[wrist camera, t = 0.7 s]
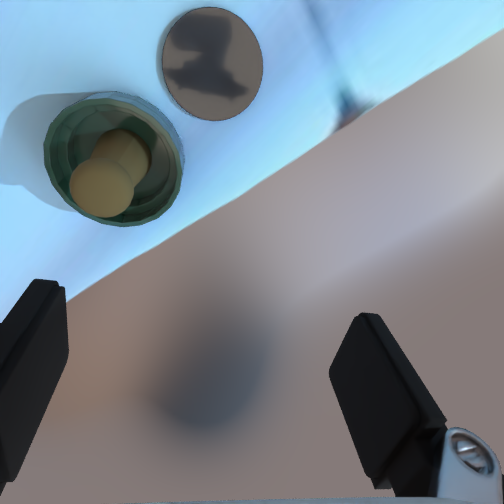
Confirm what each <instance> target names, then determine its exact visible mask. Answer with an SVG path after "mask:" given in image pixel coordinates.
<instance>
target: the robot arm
mask: <svg viewBox="0 0 504 504" xmlns="http://www.w3.org/2000/svg"><path fill="white" fill-rule="evenodd" d="M68 354H69V347H68V330H67V313H66V296H65V288H64V287H62V286H59V284H58V282H57V281H53V280H43V279H34V280H33V281H32V282H31V283H30V285H29V286H28V288H27V289H26V290H25V292H24V293H23V294H22V296H21V297H20V298H19V300H18V301H17V303H16V304H15V305H14V307H13V308H12V309H11V311H10V312H9V313H8V315H7V316H6V318H5V319H4V320H3V322H2V323H0V496H1V493H2V491H3V489H4V487H5V485H6V482H13V481H14V480H15V478H16V477H17V475H18V473H19V470H20V468H21V466H22V464H23V461H24V459H25V456H26V454H27V452H28V450H29V447H30V445H31V443H32V440H33V438H34V436H35V434H36V432H37V429H38V427H39V425H40V422H41V420H42V418H43V415H44V413H45V411H46V409H47V406H48V404H49V401H50V399H51V397H52V395H53V393H54V390H55V388H56V386H57V383H58V381H59V379H60V377H61V374H62V372H63V370H64V367H65V365H66V363H67V359H68ZM329 377H330V381H331V383H332V386H333V389H334V391H335V394H336V397H337V399H338V402H339V405H340V407H341V410H342V413H343V415H344V418H345V421H346V424H347V426H348V429H349V432H350V434H351V437H352V440H353V442H354V445H355V448H356V450H357V453H358V456H359V459H360V461H361V464H362V467H363V469H364V472H365V474H366V475H367V476H368V477H369V478H371V480H372V483H373V486H374V489H391V488H393V490H394V493H395V495H396V496H395V497H366V498H365V497H364V498H314V499H313V498H311V499H269V500H230V501H192V502H160V503H129V504H504V475H503V474H502V472H501V466H500V463H499V460H498V459H497V456H496V454H495V453H494V452H493V451H492V449H491V448H490V447H489V446H488V445H487V444H486V443H485V442H484V441H483V440H482V439H481V438H479V437H478V436H477V435H475V434H474V433H472V432H470V431H468V430H466V429H463V428H459V427H454V428H450V429H449V430H448V429H447V427H446V426H445V422H446V421H447V419H446V418H445V416H444V415H443V413H442V411H441V410H440V408H439V407H438V405H437V404H436V402H435V401H434V399H433V397H432V396H431V394H430V393H429V391H428V390H427V388H426V387H425V385H424V383H423V382H422V380H421V379H420V377H419V376H418V374H417V373H416V371H415V369H414V368H413V366H412V365H411V363H410V362H409V360H408V359H407V357H406V356H405V354H404V352H403V351H402V349H401V348H400V346H399V345H398V343H397V341H396V340H395V338H394V337H393V335H392V334H391V332H390V331H389V329H388V327H387V326H386V325H385V323H384V321H383V320H382V318H381V317H380V316H379V315H378V314H373V313H360V314H359V315H358V316H356V317H354V319H353V321H352V323H351V325H350V327H349V329H348V331H347V333H346V335H345V337H344V340H343V341H342V344H341V346H340V348H339V350H338V352H337V354H336V356H335V358H334V360H333V362H332V364H331V366H330V369H329ZM126 504H128V503H126Z"/></svg>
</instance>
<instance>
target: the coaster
mask: <svg viewBox="0 0 504 504" xmlns="http://www.w3.org/2000/svg"><path fill="white" fill-rule="evenodd" d="M162 67H163V74H164V78H165V81H166V84H167V87H168V89H169V91H170V93H171V94H172V96H173V98H174V99H175V100H176V101H177V103H178V104H179V105H180V106H181V107H182V108H183V109H185V110H186V111H187V112H189V113H190V114H192V115H194V116H196V117H198V118H201V119H204V120H210V121H221V120H226V119H230V118H232V117H234V116H236V115H238V114H240V113H241V112H242V111H244V110H245V109H246V108H247V107H248V106H249V105H250V104H251V102H252V101H253V100H254V98H255V96H256V94H257V92H258V90H259V88H260V84H261V81H262V75H263V59H262V53H261V49H260V46H259V43H258V41H257V39H256V37H255V35H254V33H253V32H252V30H251V29H250V28H249V26H248V25H247V24H246V23H245V22H244V21H243V20H242V19H241V18H239V17H238V16H237V15H235V14H233V13H232V12H230V11H227V10H225V9H221V8H217V7H204V8H199V9H195V10H193V11H191V12H188V13H187V14H185V15H184V16H182V17H181V18H180V19H179V20H178V21H177V22H176V23H175V24H174V26H173V27H172V29H171V30H170V32H169V34H168V36H167V38H166V41H165V44H164V48H163V54H162Z"/></svg>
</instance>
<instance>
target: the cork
mask: <svg viewBox="0 0 504 504" xmlns="http://www.w3.org/2000/svg"><path fill="white" fill-rule="evenodd" d="M151 164H152V156H151V152H150V149H149V147H148V145H147V144H146V142H145V141H144V140H143V139H142V138H141V137H140V136H139V135H137V134H136V133H134V132H131V131H129V130H126V129H119V128H118V129H112V130H109V131H107V132H105V133H104V134H102V135H101V136H100V138H99V139H98V140H97V142H96V145H95V147H94V150H93V152H92V154H91V157H90V159H89V160H86V161H84V162H83V163H81V164H79V165H78V166H77V167H76V169H75V170H74V171H73V173H72V175H71V179H70V183H69V186H70V193H71V195H72V198H73V200H74V201H75V203H76V204H77V205H78V206H79V207H80V208H81V209H82V210H84V211H85V212H87V213H88V214H91V215H94V216H97V217H106V218H107V217H113V216H116V215H118V214H120V213H122V212H123V211H125V209H126V208H127V207H128V206H129V205H130V203H131V200H132V198H133V195H134V187H135V186H136V185H137V184H138V183H139V182H140V181H141V180H142V179H143V178H144V176H145V175H146V174H147V173H148V172H149V170H150V167H151Z"/></svg>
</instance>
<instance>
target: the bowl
mask: <svg viewBox="0 0 504 504" xmlns="http://www.w3.org/2000/svg"><path fill="white" fill-rule="evenodd" d="M118 128H119V129H126V130H129V131H131V132H134V133H136V134H137V135H139V136H140V137H141V138H142V139H143V140H144V141H145V142H146V144H147V145H148V147H149V149H150V152H151V156H152V164H151V167H150V170H149V172H148V173H147V174H146V175H145V176H144V178H143V179H142V180H141V181H140V182H139V183H138V184H137V185H136V186H135V187H134V195H133V198H132V200H131V203H130V205H129V206H128V207H127V208H126V209H125V211H123V212H122V213H120V214H118V215H116V216H113V217H107V218H106V217H97V216H94V215H91V214H88V213H87V212H85V211H84V210H82V209H81V208H80V207H79V206H78V205H77V204H76V203H75V201H74V200H73V198H72V195H71V193H70V186H69V183H70V179H71V175H72V173H73V171H74V170H75V169H76V167H77V166H78V165H79V164H81V163H83V162H84V161H86V160H89V159H90V157H91V154H92V152H93V150H94V147H95V145H96V142H97V140H98V139H99V138H100V136H101V135H102V134H104V133H105V132H107V131H109V130H112V129H118ZM43 146H44V164H45V168H46V170H47V173H48V175H49V178H50V180H51V183H52V185H53V186H54V188H55V189H56V190H57V192H58V193H59V194H60V195H61V197H62V198H63V199H64V201H65V202H66V203H67V204H69V205H70V206H71V207H73V208H74V209H75V210H77V211H78V212H79V213H80V214H82V215H83V216H85V217H88V218H90V219H92V220H94V221H97V222H99V223H101V224H106V225H112V226H118V227H129V226H138V225H143V224H145V223H148V222H150V221H152V220H155V219H157V218H159V217H160V216H161V215H162V214H163V213H164V212H166V211H167V210H168V209H169V208H170V207H171V206H172V204H173V202H174V200H175V199H176V197H177V195H178V193H179V191H180V186H181V180H182V174H183V167H184V154H183V148H182V143H181V140H180V138H179V136H178V134H177V132H176V130H175V128H174V126H173V125H172V123H171V122H170V121H169V120H168V119H167V118H166V117H165V116H164V115H163V114H162V112H161V111H160V110H159V109H157V108H156V107H155V106H153V105H151V104H150V103H148V102H146V101H145V100H143V99H141V98H139V97H137V96H133V95H129V94H125V93H121V92H117V91H116V92H104V93H95V94H93V95H91V96H89V97H87V98H85V99H82V100H80V101H78V102H76V103H74V104H73V105H71V106H69V107H67V108H65V109H64V110H63V111H62V112H61V113H60V114H59V115H58V116H57V117H56V118H55V120H54V121H53V122H52V123H51V124H50V126H49V129H48V132H47V135H46V138H45V141H44V145H43Z"/></svg>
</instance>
